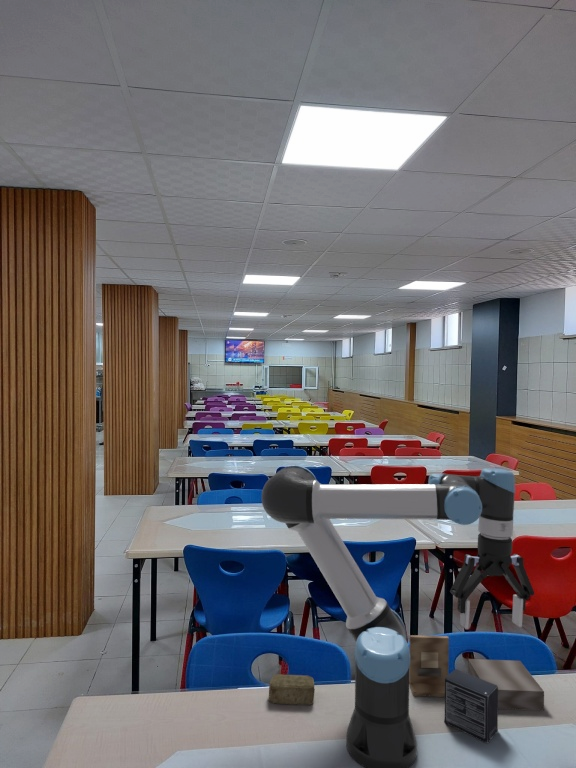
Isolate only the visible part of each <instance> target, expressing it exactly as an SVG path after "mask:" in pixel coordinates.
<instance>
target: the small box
mask: <svg viewBox="0 0 576 768" xmlns="http://www.w3.org/2000/svg"><path fill="white" fill-rule="evenodd" d="M498 712H499V710H498V686H497V685H495V684H492V683H490V682H487V681H485V680H482V679H480V678H477V677H475V676H472V675H470V674H468V672H465V671H463V670H460V669H457V668H455V669H454V670H452V671H451V672H450V673H448V676H447V677H446V678H445V697H444V723H445V724H446V725H449V726H451V727H453V728H456V729H457V730H459V731H461V732H463V733H466V734H468V735H469V736H472V737H474V738H475V739H477V740H480V741H482V742H484V743H486V744H488V743H490V741H491V740H492V738H493V737H494V736H495V735H496V734H497V732H498V730H499V728H498V726H499V725H498V723H499V722H498V721H499V718H498V717H499V716H498V714H499V713H498Z"/></svg>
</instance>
